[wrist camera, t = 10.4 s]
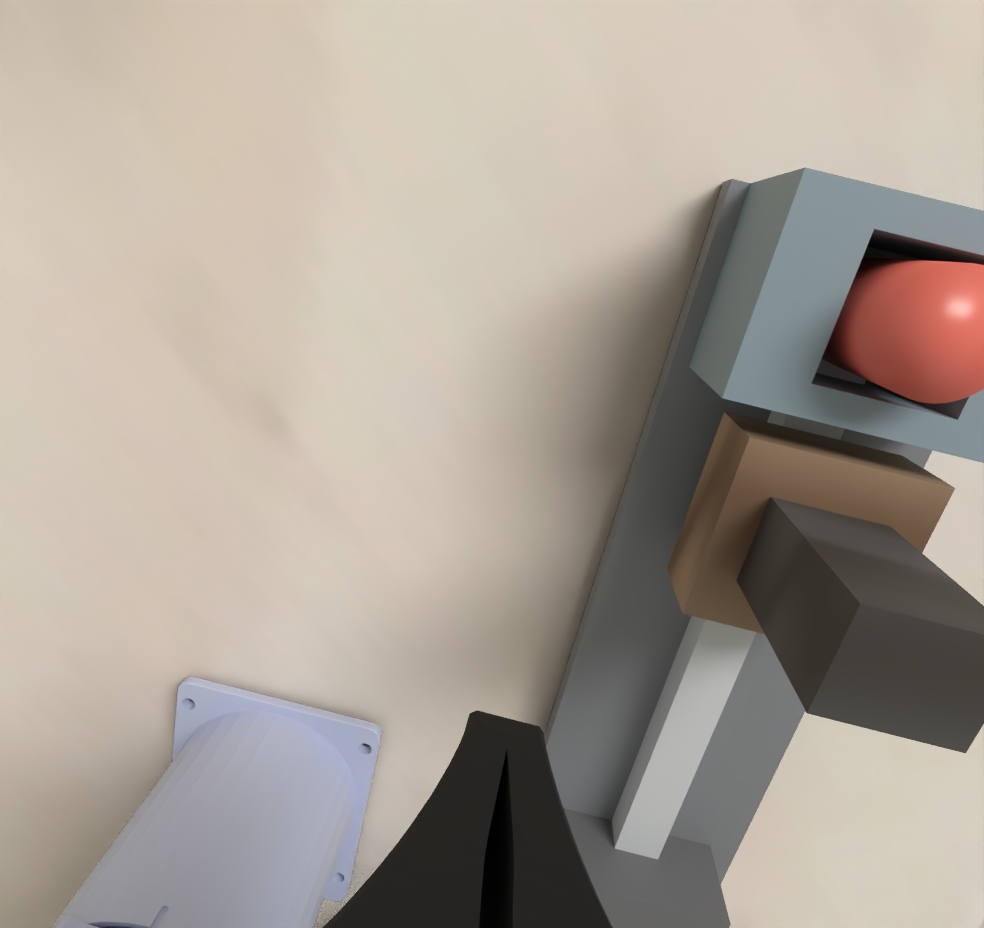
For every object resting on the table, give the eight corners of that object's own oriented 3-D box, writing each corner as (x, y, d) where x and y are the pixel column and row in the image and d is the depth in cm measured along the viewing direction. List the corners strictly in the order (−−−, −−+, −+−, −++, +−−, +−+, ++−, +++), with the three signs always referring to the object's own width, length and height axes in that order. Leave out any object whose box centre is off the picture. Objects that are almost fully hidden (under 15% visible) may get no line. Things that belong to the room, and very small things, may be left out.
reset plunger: (890, 379, 17) (983, 417, 14) (788, 353, 17) (852, 385, 14) (938, 272, 16) (1053, 281, 13) (829, 245, 16) (910, 247, 13)
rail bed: (712, 865, 26) (746, 1003, 21) (517, 816, 26) (509, 942, 22) (1004, 250, 18) (1162, 254, 13) (723, 182, 18) (781, 161, 13)
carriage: (829, 609, 20) (985, 818, 12) (667, 568, 20) (729, 753, 13) (902, 455, 18) (1129, 596, 11) (724, 411, 18) (833, 522, 11)
